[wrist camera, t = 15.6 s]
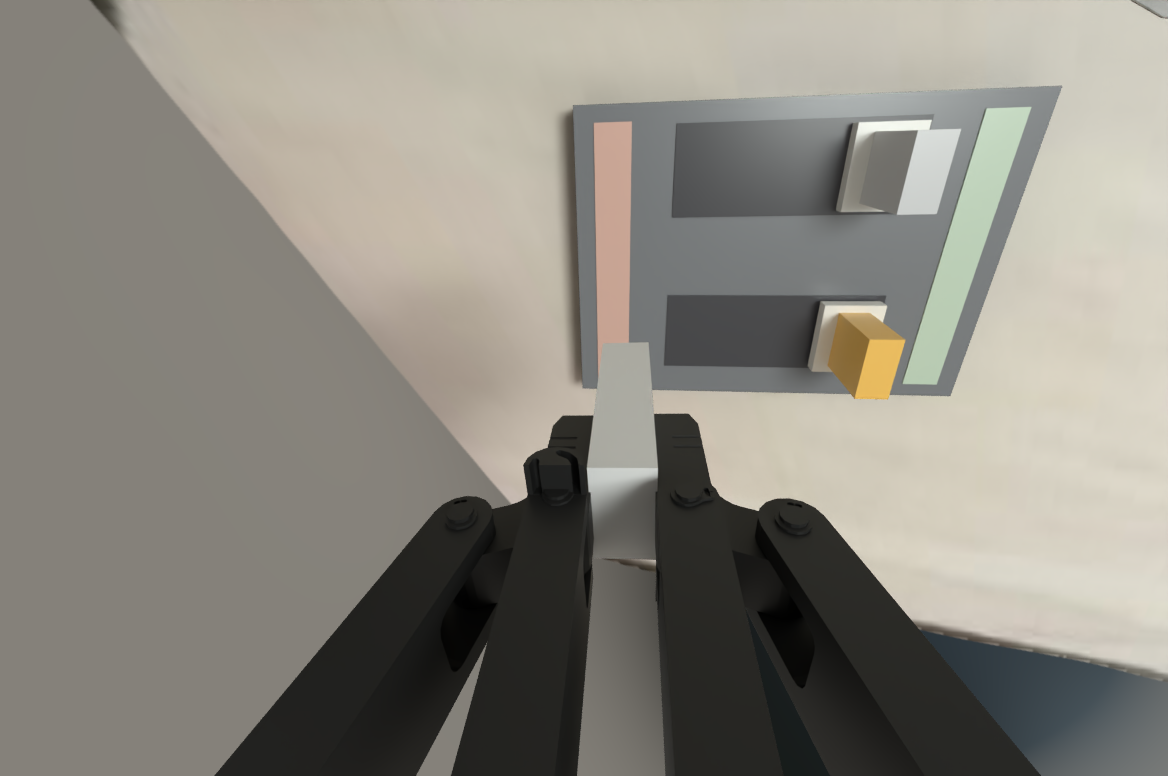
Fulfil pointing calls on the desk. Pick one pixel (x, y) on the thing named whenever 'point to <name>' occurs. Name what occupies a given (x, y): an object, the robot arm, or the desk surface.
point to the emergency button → (1155, 6)
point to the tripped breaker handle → (856, 347)
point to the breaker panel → (796, 228)
